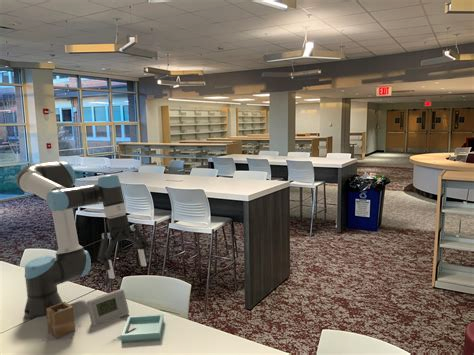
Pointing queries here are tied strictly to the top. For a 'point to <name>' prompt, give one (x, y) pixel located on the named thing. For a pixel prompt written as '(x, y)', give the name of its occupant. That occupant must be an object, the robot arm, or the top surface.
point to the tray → (143, 328)
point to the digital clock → (108, 307)
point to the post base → (50, 338)
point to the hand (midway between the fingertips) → (128, 271)
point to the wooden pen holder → (60, 320)
